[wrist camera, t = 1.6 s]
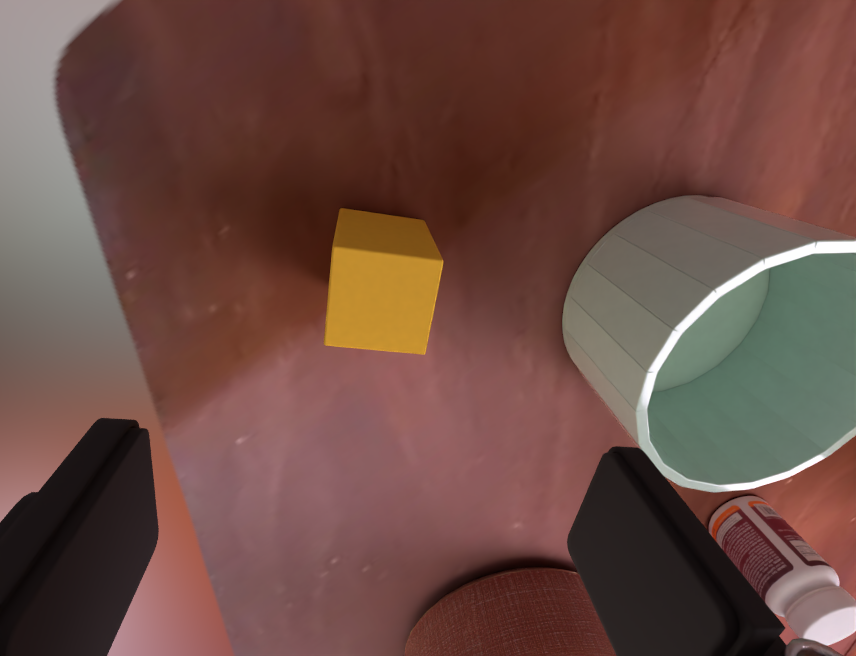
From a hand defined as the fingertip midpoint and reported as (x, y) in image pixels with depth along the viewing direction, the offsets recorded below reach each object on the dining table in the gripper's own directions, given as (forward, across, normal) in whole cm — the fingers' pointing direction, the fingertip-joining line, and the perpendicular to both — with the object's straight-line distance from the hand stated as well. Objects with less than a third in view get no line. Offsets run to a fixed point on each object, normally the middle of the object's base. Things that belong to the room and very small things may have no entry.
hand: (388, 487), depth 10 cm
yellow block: (+15, 0, 0) cm, 15 cm away
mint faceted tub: (+15, -16, 0) cm, 22 cm away
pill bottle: (+15, -30, +16) cm, 37 cm away
